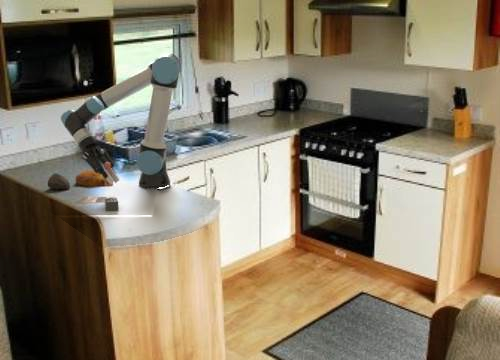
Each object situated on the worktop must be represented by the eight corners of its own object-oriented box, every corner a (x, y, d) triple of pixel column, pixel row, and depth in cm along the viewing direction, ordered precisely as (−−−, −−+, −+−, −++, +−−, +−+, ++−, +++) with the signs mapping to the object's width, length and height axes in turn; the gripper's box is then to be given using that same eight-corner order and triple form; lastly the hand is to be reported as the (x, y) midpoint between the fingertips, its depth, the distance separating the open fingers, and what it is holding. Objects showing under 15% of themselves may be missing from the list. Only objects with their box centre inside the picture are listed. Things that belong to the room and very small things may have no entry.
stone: (69, 193, 299) (55, 177, 300) (75, 183, 294) (62, 168, 294) (53, 201, 291) (40, 185, 292) (60, 191, 286) (46, 175, 287)
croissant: (92, 194, 293) (92, 178, 290) (69, 184, 300) (70, 169, 297) (114, 186, 305) (115, 171, 302) (92, 177, 312) (92, 162, 309)
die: (117, 208, 267) (116, 197, 265) (118, 212, 262) (118, 201, 261) (105, 209, 265) (104, 198, 264) (106, 213, 261) (106, 202, 259)
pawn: (113, 184, 276) (111, 160, 273) (112, 186, 272) (110, 162, 269) (105, 184, 275) (103, 161, 272) (104, 186, 272) (102, 163, 269)
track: (115, 198, 280) (115, 196, 280) (113, 204, 272) (113, 202, 272) (80, 198, 279) (79, 196, 278) (76, 204, 271) (76, 202, 271)
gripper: (94, 142, 284) (123, 182, 280) (68, 149, 271) (97, 191, 267) (102, 132, 279) (131, 173, 275) (75, 138, 267) (106, 181, 263)
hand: (114, 181), depth 271 cm, fingers closed on pawn, 2 cm apart
